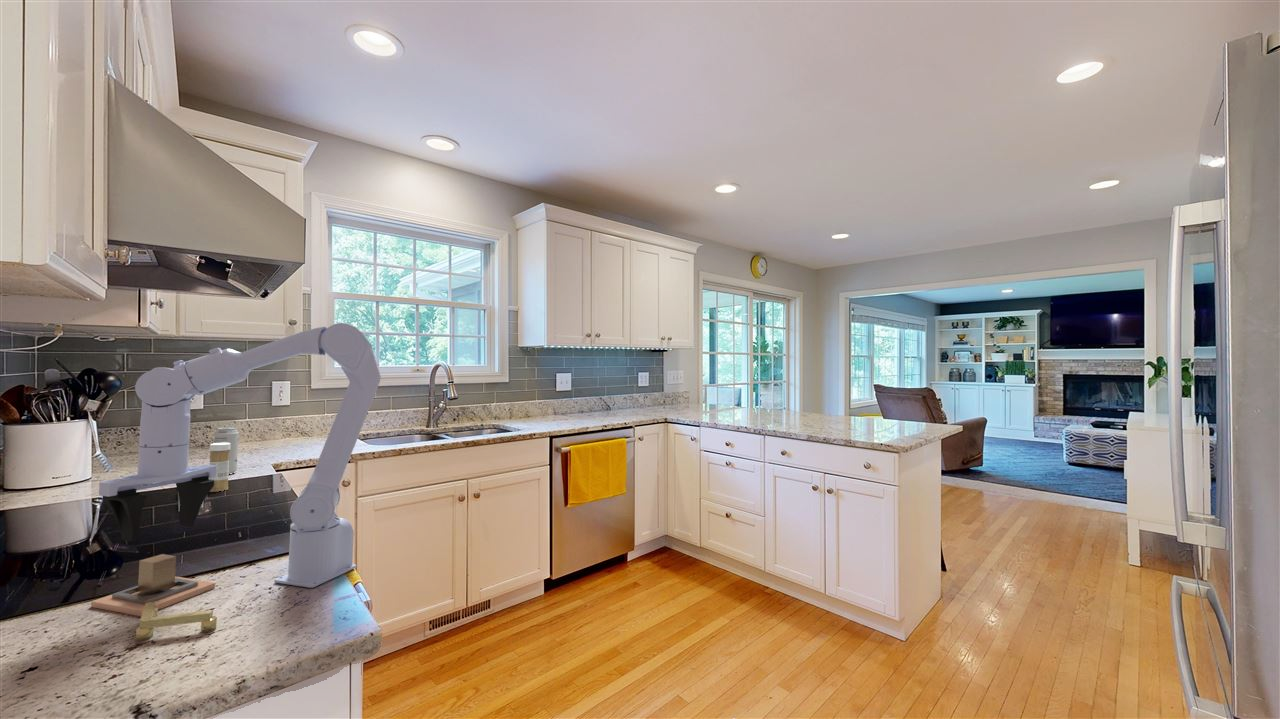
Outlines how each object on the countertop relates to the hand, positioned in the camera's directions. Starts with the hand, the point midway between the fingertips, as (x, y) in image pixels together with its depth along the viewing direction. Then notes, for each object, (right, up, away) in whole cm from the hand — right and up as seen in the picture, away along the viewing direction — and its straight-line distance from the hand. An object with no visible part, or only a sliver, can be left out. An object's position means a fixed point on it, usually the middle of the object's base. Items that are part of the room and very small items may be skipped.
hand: (159, 532), depth 78 cm
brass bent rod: (+10, -10, -10) cm, 17 cm away
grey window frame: (0, -9, 0) cm, 9 cm away
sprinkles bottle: (-46, -11, +65) cm, 80 cm away
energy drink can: (-61, -11, +86) cm, 106 cm away
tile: (0, -10, 0) cm, 10 cm away
